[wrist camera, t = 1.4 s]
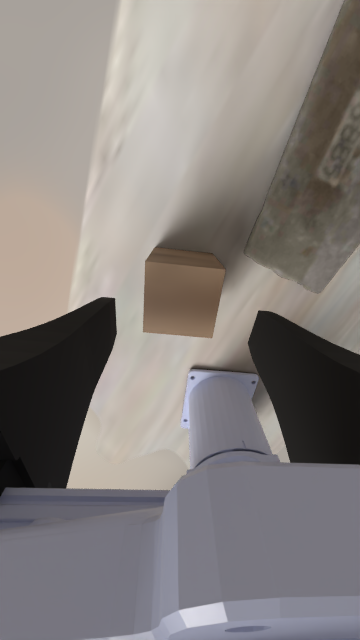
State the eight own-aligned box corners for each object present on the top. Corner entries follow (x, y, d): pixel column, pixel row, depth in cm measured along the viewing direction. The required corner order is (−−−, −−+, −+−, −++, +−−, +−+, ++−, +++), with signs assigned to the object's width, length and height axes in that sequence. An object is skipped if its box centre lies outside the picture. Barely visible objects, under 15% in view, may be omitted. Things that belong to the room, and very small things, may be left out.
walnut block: (203, 306, 21) (212, 338, 16) (152, 301, 21) (143, 332, 15) (212, 253, 19) (225, 269, 13) (155, 247, 18) (145, 261, 13)
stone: (389, -102, 11) (560, -13, 11) (350, -32, 13) (489, 36, 14) (231, 261, 17) (344, 305, 18) (226, 258, 20) (324, 296, 20)
